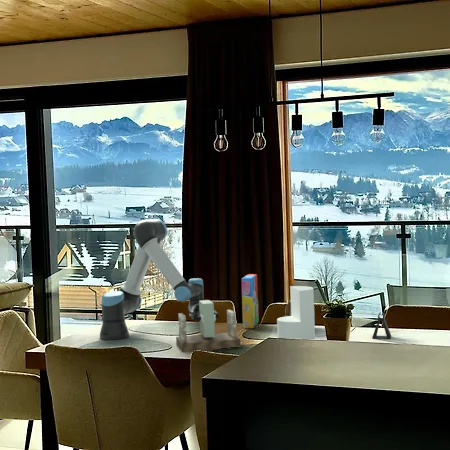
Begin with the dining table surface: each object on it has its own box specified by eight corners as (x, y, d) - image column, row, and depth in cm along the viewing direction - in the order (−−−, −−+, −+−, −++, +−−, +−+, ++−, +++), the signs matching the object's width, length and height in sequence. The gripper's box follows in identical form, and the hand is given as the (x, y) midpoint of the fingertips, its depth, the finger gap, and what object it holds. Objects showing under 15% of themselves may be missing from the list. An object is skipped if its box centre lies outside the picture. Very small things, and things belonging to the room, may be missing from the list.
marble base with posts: (182, 352, 351) (180, 318, 350) (176, 344, 368) (175, 312, 367) (240, 347, 356) (239, 313, 356) (232, 340, 374) (231, 308, 373)
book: (204, 337, 356) (203, 303, 355) (200, 333, 367) (198, 300, 367) (214, 336, 357) (213, 303, 356) (210, 332, 368) (209, 299, 368)
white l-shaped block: (309, 343, 360) (307, 285, 358) (319, 350, 342) (317, 289, 341) (274, 345, 357) (272, 287, 356) (282, 353, 340) (280, 291, 339)
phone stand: (372, 338, 365) (371, 314, 365) (372, 336, 371) (372, 312, 371) (390, 339, 363) (390, 314, 362) (391, 336, 369) (390, 312, 368)
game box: (252, 328, 403) (251, 278, 402) (242, 328, 404) (241, 278, 403) (258, 321, 424) (257, 273, 422) (249, 321, 425) (247, 273, 424)
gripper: (217, 317, 381) (227, 325, 358) (182, 320, 377) (190, 328, 355) (217, 303, 381) (227, 309, 358) (182, 305, 377) (189, 312, 354)
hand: (208, 319), depth 356 cm, fingers closed on book, 5 cm apart
